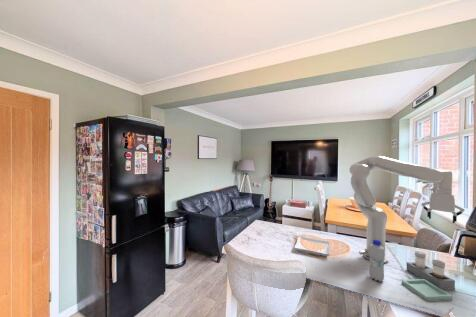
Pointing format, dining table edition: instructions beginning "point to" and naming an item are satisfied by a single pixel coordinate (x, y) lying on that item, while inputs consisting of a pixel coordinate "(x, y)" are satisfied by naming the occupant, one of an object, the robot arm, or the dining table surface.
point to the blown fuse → (438, 269)
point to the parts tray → (426, 290)
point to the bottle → (376, 261)
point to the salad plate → (323, 251)
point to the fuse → (420, 259)
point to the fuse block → (431, 276)
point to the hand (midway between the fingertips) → (441, 220)
